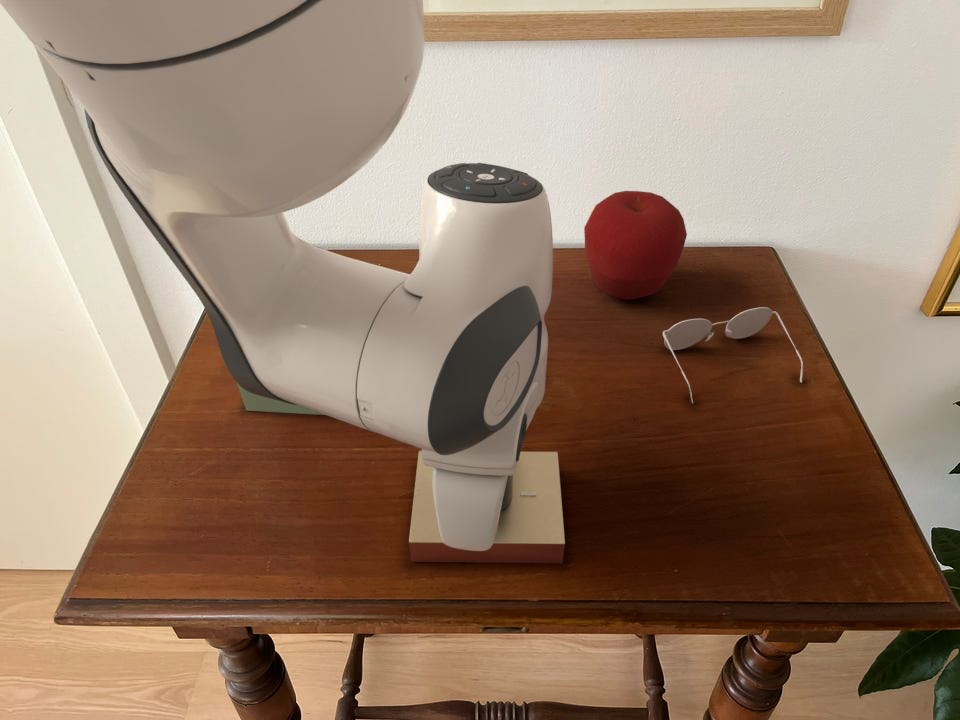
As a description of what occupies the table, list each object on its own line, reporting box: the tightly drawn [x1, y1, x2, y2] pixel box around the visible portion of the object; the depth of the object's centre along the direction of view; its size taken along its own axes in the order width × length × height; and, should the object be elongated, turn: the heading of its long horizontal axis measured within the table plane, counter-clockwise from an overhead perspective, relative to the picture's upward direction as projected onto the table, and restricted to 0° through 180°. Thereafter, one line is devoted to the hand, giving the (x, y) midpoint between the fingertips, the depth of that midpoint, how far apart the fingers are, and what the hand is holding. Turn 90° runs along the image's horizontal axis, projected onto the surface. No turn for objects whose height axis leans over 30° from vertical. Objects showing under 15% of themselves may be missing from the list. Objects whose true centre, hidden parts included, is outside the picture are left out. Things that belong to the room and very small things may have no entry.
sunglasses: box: [662, 306, 804, 404], centre depth 79 cm, size 14×8×5 cm, turn 104°
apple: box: [583, 190, 688, 301], centre depth 86 cm, size 12×12×13 cm
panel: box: [408, 450, 566, 564], centre depth 65 cm, size 10×13×3 cm
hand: (487, 486), depth 63 cm, fingers closed on knob, 4 cm apart
